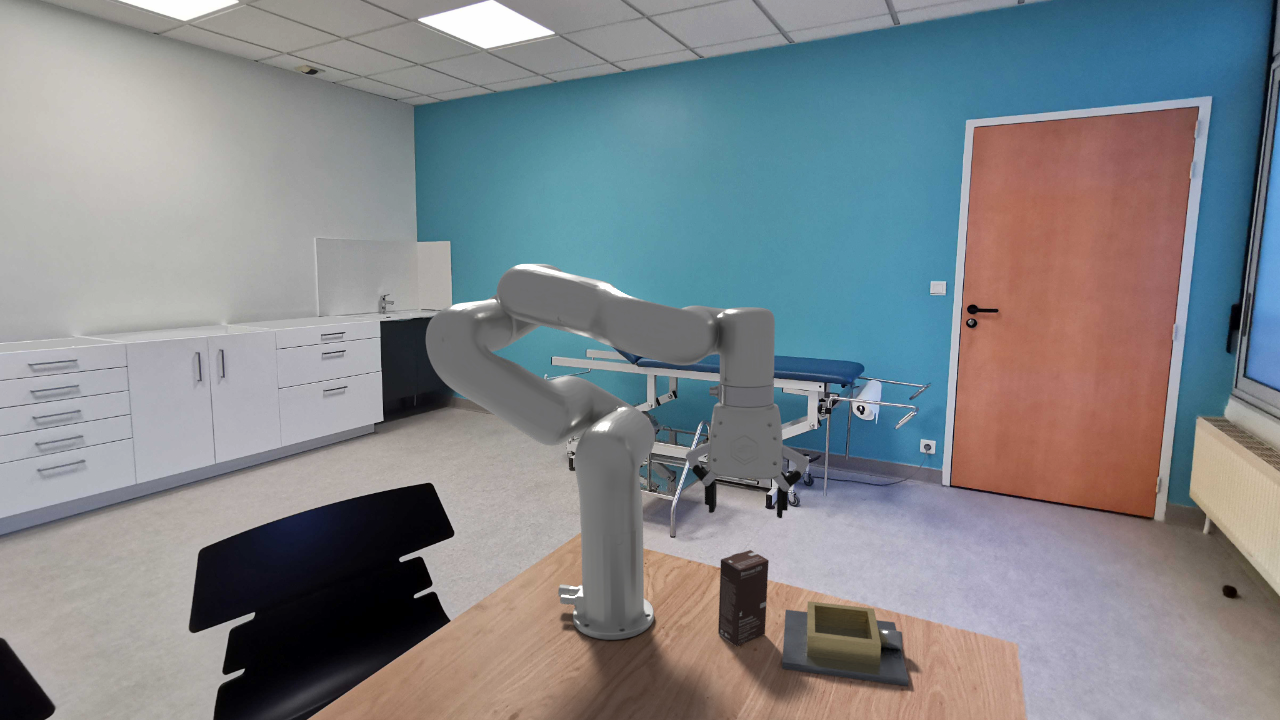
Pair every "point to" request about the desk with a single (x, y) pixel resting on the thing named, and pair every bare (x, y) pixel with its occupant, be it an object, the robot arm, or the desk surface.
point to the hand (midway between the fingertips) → (745, 512)
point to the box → (743, 597)
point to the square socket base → (843, 644)
